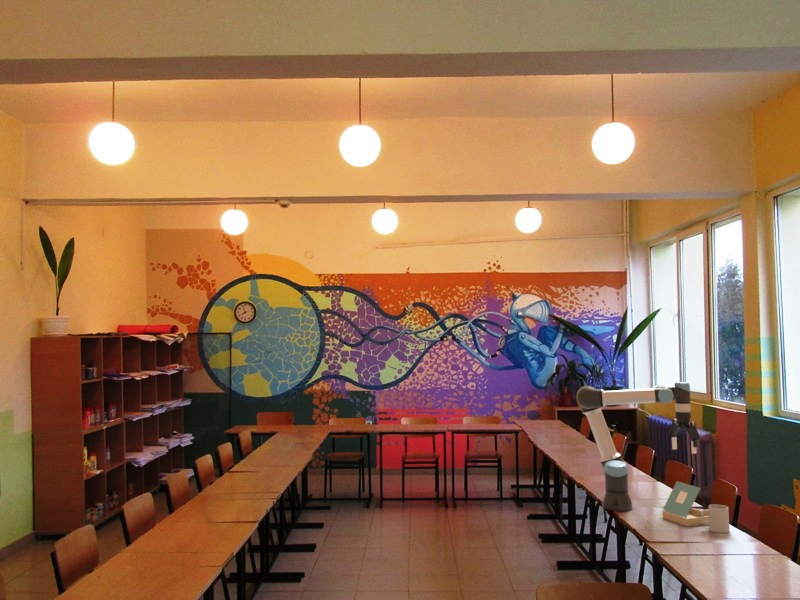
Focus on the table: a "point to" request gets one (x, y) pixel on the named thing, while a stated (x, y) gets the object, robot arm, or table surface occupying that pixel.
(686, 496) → the lid
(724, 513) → the mug
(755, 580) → the table surface
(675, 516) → the box
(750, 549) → the table surface
